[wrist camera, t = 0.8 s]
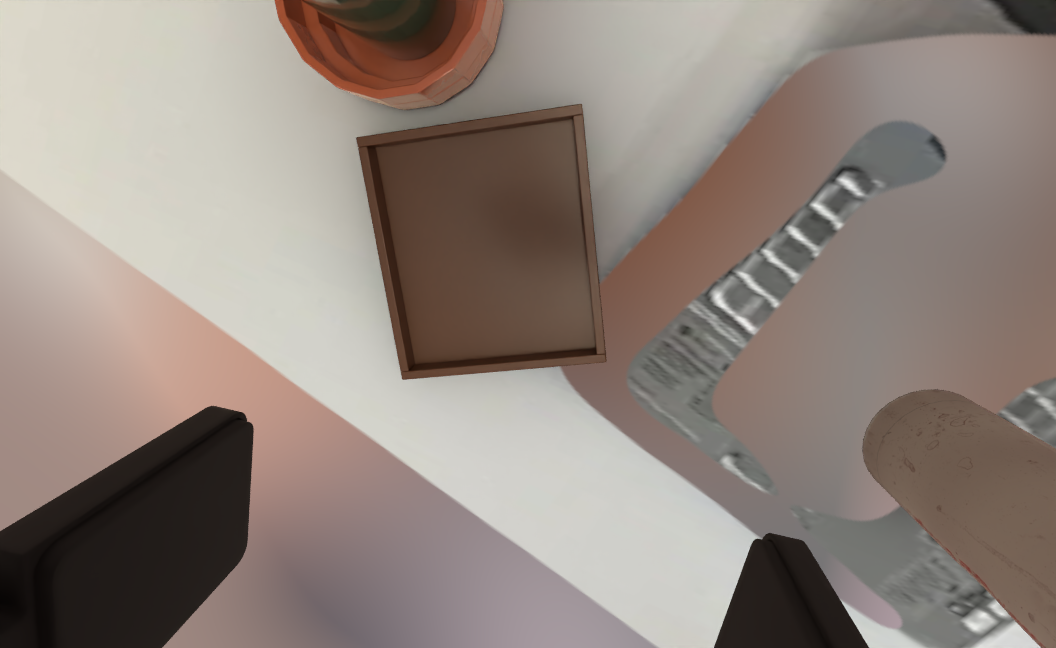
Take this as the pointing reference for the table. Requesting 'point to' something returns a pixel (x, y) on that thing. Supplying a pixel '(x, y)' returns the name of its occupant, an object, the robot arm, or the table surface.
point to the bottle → (393, 23)
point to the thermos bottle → (975, 496)
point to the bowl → (392, 78)
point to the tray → (487, 243)
